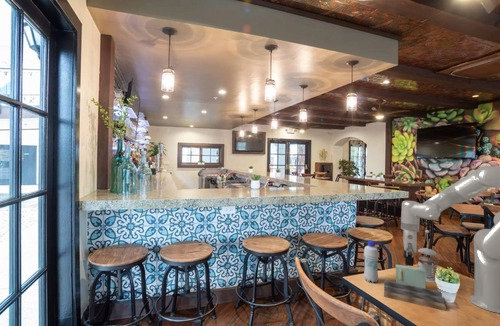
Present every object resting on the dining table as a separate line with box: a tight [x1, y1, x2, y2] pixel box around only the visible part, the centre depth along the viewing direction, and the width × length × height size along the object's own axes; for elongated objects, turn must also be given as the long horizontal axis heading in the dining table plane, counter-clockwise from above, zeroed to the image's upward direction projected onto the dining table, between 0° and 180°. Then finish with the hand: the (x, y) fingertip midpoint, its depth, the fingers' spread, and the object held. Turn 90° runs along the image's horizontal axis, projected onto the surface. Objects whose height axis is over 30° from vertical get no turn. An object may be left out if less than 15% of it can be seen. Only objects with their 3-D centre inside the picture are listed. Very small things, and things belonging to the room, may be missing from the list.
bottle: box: [363, 240, 379, 284], centre depth 127 cm, size 7×7×20 cm
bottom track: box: [383, 279, 447, 311], centre depth 112 cm, size 22×12×4 cm, turn 61°
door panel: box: [395, 264, 427, 289], centre depth 122 cm, size 12×4×9 cm, turn 61°
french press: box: [417, 229, 439, 284], centre depth 131 cm, size 10×12×25 cm
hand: (408, 261), depth 122 cm, fingers open, 9 cm apart
